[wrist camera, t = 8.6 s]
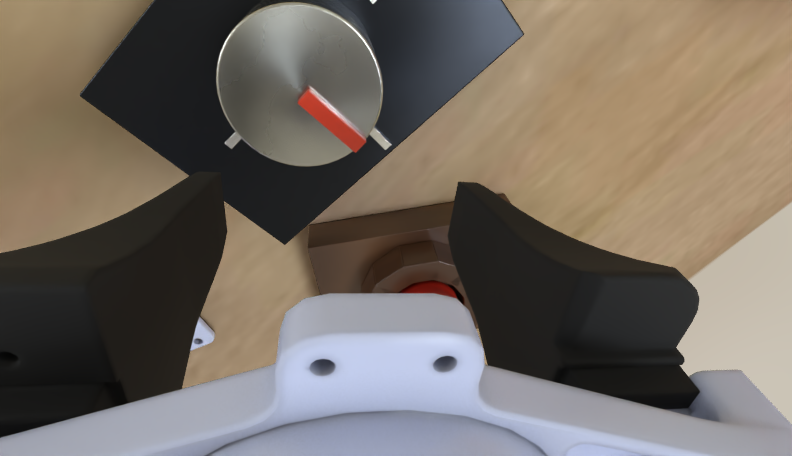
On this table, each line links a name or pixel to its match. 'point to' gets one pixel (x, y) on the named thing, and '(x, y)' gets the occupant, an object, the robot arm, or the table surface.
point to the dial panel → (226, 151)
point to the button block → (386, 252)
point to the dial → (300, 81)
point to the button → (430, 288)
